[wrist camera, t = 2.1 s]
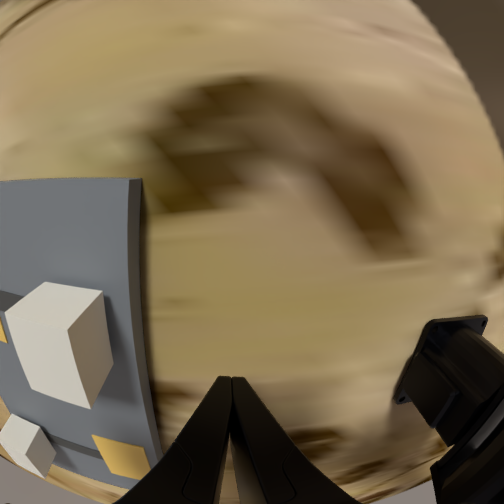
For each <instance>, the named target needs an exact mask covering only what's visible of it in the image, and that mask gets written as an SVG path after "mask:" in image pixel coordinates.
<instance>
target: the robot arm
mask: <svg viewBox="0 0 504 504" xmlns="http://www.w3.org/2000/svg"><path fill="white" fill-rule="evenodd" d="M487 321H488V318H487V317H486V316H485V315H475V316H465V317H454V318H442V319H433V320H431V321H429V322H428V324H427V325H426V327H425V330H424V332H423V335H422V338H421V340H420V343H419V345H418V347H417V350H416V352H415V354H414V357H413V359H412V361H411V363H410V366H409V368H408V370H407V372H406V374H405V376H404V378H403V380H402V382H401V384H400V386H399V388H398V390H397V392H396V394H395V396H394V401H395V402H396V404H403V403H407V402H413V403H414V405H415V406H416V408H417V409H418V410H419V412H420V413H421V415H422V416H423V418H424V419H425V421H426V422H427V424H428V425H429V426H430V428H435V429H436V431H437V432H438V434H439V435H440V436H441V438H442V439H443V441H444V442H445V444H446V445H447V447H450V446H452V445H454V446H453V447H452V448H451V449H450V450H449V451H448V452H447V453H446V454H445V455H444V456H443V457H442V458H441V459H440V460H439V461H436V462H435V463H434V464H433V465H432V466H431V467H430V471H431V476H432V481H433V486H434V491H435V496H436V502H437V504H504V354H503V353H502V352H501V351H500V350H498V349H497V348H496V347H495V346H494V345H492V344H491V343H490V342H489V341H488V340H486V339H485V338H484V337H483V336H482V334H483V332H484V329H485V327H486V324H487ZM229 434H230V445H231V451H232V458H233V464H234V470H235V476H236V482H237V488H238V493H239V499H240V504H363V503H361V502H359V501H357V500H355V499H354V498H352V497H351V496H350V495H348V494H347V493H346V492H345V491H343V490H342V489H341V488H340V487H338V486H337V485H336V484H335V483H334V482H332V481H331V480H330V479H329V478H328V477H326V476H325V475H324V474H323V473H322V472H321V471H320V470H319V469H318V468H316V467H315V466H314V465H313V464H312V463H311V462H310V460H309V459H308V458H307V457H306V456H305V455H304V454H303V453H302V452H301V450H300V449H299V448H298V447H297V446H296V445H295V443H294V442H293V441H292V439H291V438H290V437H289V436H288V434H287V433H286V432H285V431H284V429H283V428H282V427H281V426H280V424H279V423H278V422H277V421H276V419H275V418H274V417H273V415H272V414H271V413H270V411H269V410H268V409H267V407H266V406H265V405H264V403H263V402H262V401H261V399H260V398H259V397H258V395H257V394H256V393H255V391H254V390H253V388H252V387H251V386H250V384H249V383H248V382H247V380H246V379H245V378H244V377H232V378H231V377H230V376H218V377H217V379H216V380H215V382H214V383H213V385H212V386H211V388H210V389H209V391H208V392H207V394H206V395H205V397H204V398H203V400H202V401H201V403H200V404H199V406H198V407H197V409H196V410H195V412H194V413H193V415H192V416H191V418H190V419H189V421H188V422H187V423H186V425H185V426H184V428H183V429H182V431H181V432H180V434H179V435H178V436H177V438H176V439H175V442H173V443H172V445H171V446H170V448H169V449H168V450H167V452H166V453H165V454H164V455H163V457H162V458H161V459H160V460H159V462H158V463H157V464H156V465H155V466H154V467H153V468H152V469H151V470H150V471H149V472H148V473H147V474H146V475H145V476H144V477H143V478H142V479H141V480H140V481H139V482H138V483H137V484H136V485H135V486H133V487H132V488H131V489H130V490H129V491H128V492H127V493H126V494H125V495H124V496H122V497H121V498H120V499H119V500H117V501H116V502H114V503H112V504H219V500H220V494H221V487H222V481H223V474H224V468H225V461H226V455H227V448H228V441H229ZM6 504H9V503H6Z"/></svg>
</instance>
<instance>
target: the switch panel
mask: <svg viewBox="0 0 504 504" xmlns="http://www.w3.org/2000/svg"><path fill="white" fill-rule="evenodd" d="M141 181H142V178H46V179H26V180H11V181H0V396H1V398H2V399H3V401H4V403H5V405H6V407H7V408H8V410H9V412H10V414H11V415H12V414H14V415H16V416H18V417H20V418H22V419H24V420H26V421H28V422H31V423H33V424H35V425H37V426H39V427H40V428H41V429H42V431H43V433H44V434H45V436H46V437H47V439H48V441H49V442H50V444H51V445H52V447H53V448H54V450H55V451H56V455H55V458H54V460H53V462H52V464H54V465H57V466H59V467H61V468H64V469H66V470H69V471H71V472H74V473H77V474H80V475H82V476H85V477H88V478H91V479H94V480H97V481H101V482H104V483H107V484H111V485H114V486H118V487H122V488H126V489H131V488H132V487H133V486H135V485H136V484H137V483H138V482H139V481H140V480H141V479H142V478H143V477H144V476H145V475H146V474H147V473H148V472H149V471H150V470H151V469H152V468H153V467H154V466H155V465H156V464H157V463H158V462H159V460H160V459H161V458H162V457H163V452H162V448H161V444H160V439H159V435H158V430H157V425H156V420H155V415H154V409H153V404H152V398H151V392H150V385H149V378H148V371H147V363H146V355H145V346H144V336H143V324H142V311H141V294H140V264H139V228H140V198H141ZM44 282H50V283H56V284H62V285H68V286H74V287H80V288H87V289H93V290H100V291H103V297H104V306H105V314H106V321H107V328H108V335H109V341H110V346H111V352H112V357H113V362H114V364H113V366H112V368H111V370H110V372H109V374H108V376H107V378H106V380H105V382H104V384H103V386H102V388H101V390H100V392H99V394H98V396H97V398H96V400H95V402H94V404H93V406H92V408H91V409H88V408H84V407H81V406H78V405H74V404H71V403H68V402H65V401H62V400H59V399H56V398H54V397H51V396H48V395H45V394H43V393H40V392H38V391H35V390H33V389H31V387H30V384H29V382H28V380H27V377H26V375H25V373H24V370H23V368H22V365H21V362H20V360H19V357H18V354H17V352H16V349H15V346H14V343H13V340H12V337H11V334H10V330H9V327H8V324H7V320H6V316H5V312H6V311H7V310H8V309H10V308H11V307H12V306H13V305H15V304H16V303H17V302H18V301H20V300H21V299H22V298H24V297H25V296H26V295H28V294H29V293H30V292H32V291H33V290H34V289H36V288H37V287H38V286H40V285H41V284H43V283H44Z"/></svg>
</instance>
